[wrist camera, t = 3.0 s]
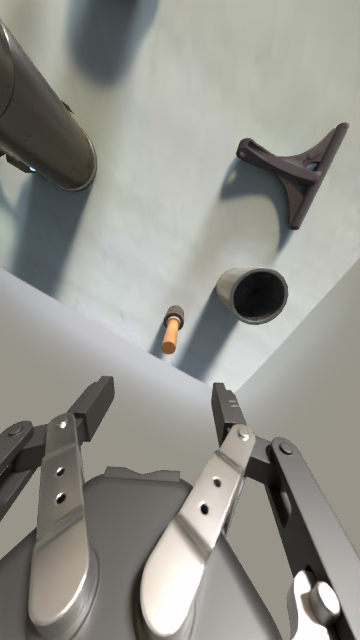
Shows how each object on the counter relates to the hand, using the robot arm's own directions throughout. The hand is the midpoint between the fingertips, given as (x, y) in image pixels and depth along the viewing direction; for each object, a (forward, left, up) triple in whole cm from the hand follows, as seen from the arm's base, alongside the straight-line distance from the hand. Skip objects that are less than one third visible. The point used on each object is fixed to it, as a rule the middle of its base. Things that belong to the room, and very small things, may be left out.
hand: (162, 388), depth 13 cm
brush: (0, 0, -23) cm, 23 cm away
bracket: (+16, +26, -24) cm, 38 cm away
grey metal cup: (+12, +6, -23) cm, 27 cm away
